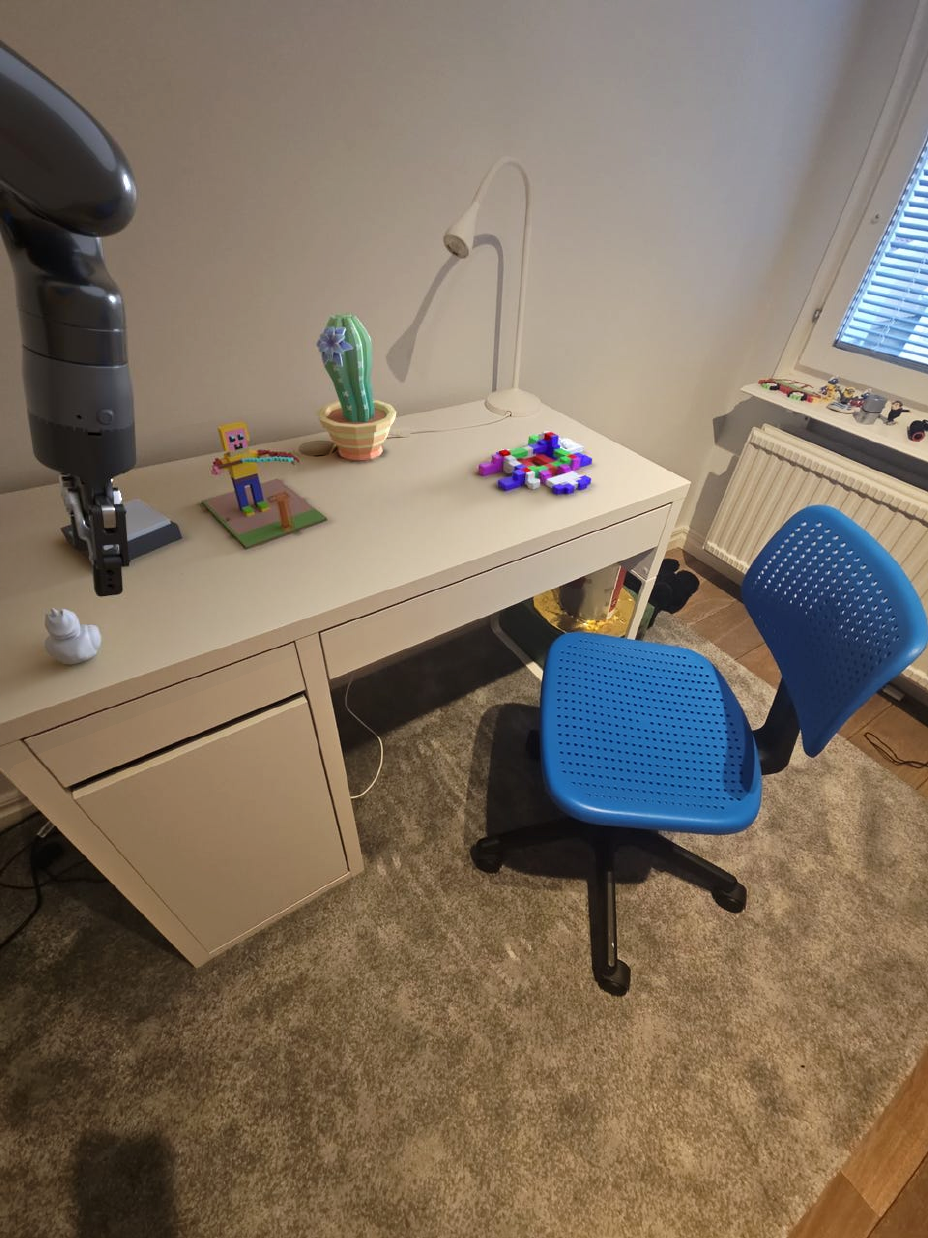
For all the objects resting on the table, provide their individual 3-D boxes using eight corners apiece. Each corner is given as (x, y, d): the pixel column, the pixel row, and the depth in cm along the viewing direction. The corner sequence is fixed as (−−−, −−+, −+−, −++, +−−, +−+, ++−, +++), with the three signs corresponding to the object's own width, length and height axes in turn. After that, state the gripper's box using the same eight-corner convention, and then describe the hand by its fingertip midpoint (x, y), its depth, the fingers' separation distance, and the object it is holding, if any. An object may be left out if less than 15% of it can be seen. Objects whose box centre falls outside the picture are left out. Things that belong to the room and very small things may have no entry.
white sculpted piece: (56, 679, 62) (20, 627, 57) (55, 644, 66) (22, 593, 61) (109, 663, 64) (80, 611, 59) (105, 630, 68) (77, 579, 63)
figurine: (277, 480, 100) (261, 401, 91) (327, 520, 90) (314, 435, 80) (202, 503, 93) (175, 419, 83) (246, 549, 83) (221, 459, 73)
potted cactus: (309, 446, 112) (287, 310, 96) (375, 430, 119) (364, 302, 103) (344, 474, 103) (326, 329, 87) (412, 455, 110) (407, 318, 94)
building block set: (529, 507, 96) (532, 483, 93) (464, 463, 108) (465, 441, 105) (626, 474, 107) (631, 452, 104) (557, 438, 119) (560, 418, 116)
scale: (104, 571, 77) (95, 553, 75) (67, 541, 83) (57, 523, 81) (182, 537, 85) (176, 520, 83) (143, 512, 90) (136, 494, 88)
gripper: (11, 374, 47) (37, 538, 55) (44, 439, 39) (68, 617, 48) (111, 384, 52) (121, 533, 60) (158, 443, 44) (161, 604, 53)
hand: (97, 570), depth 54 cm, fingers open, 8 cm apart
